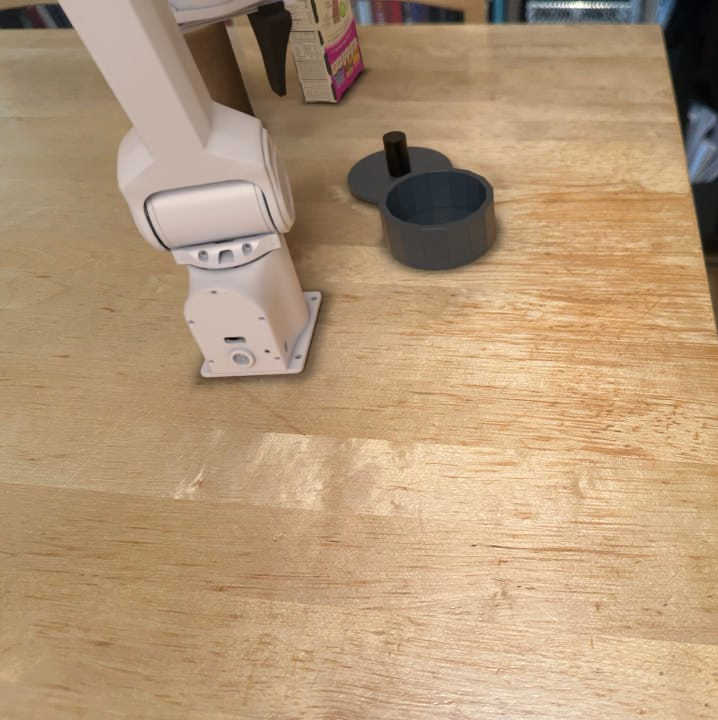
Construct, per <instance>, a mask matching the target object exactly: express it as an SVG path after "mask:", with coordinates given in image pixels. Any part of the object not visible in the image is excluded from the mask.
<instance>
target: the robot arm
mask: <svg viewBox="0 0 718 720" xmlns="http://www.w3.org/2000/svg"><path fill="white" fill-rule="evenodd" d="M56 1H57V3H58V4H59V6H60V7H61V9H62V11H63V12H64V15H65V16H66V17H67V19H68V20H69V22H70V24H71V25H72V28H73V29H74V30H75V32H76V34H77V36H78V37H79V38H80V41H81V42H82V44H83V45H84V47H85V48H86V50H87V52H88V53H89V56H90V57H91V58H92V60H93V62H94V63H95V65H96V68H97V69H98V70H99V72H100V73H101V75H102V77H103V79H104V80H105V81H106V83H107V85H108V86H109V88H110V90H111V91H112V93H113V95H114V96H115V98H116V100H117V101H118V103H119V105H120V106H121V108H122V110H123V111H124V112H125V115H126V116H127V118H128V119H129V121H130V123H131V124H132V127H131V128H130V129H129V130H128V131H127V133H126V134H125V135H124V136H123V137H122V139H121V141H120V144H119V146H118V150H117V157H116V180H117V187H118V189H119V191H120V193H121V194H122V196H123V198H124V200H125V202H126V203H127V205H128V207H129V210H130V213H131V216H132V219H133V221H134V224H135V226H136V228H137V231H138V232H139V233H140V235H141V237H142V238H143V239H144V241H145V242H146V243H148V245H151V247H153V248H154V249H155V250H156V251H158V252H159V253H170V252H171V254H172V256H173V258H174V260H175V263H176V265H177V266H178V265H179V266H180V265H185V266H186V268H187V274H188V280H189V281H188V291H187V295H186V298H185V302H184V305H183V318H184V321H185V324H186V325H187V327H188V328H189V331H190V333H191V335H192V337H193V338H194V341H195V342H196V345H197V347H198V348H199V351H200V353H201V354H202V357H203V358H204V361H203V364H202V366H201V368H200V372H199V373H200V375H201V376H202V377H203V378H223V377H224V378H225V377H243V376H245V377H247V376H267V375H287V374H299V373H301V372H302V371H303V370H304V367H305V364H306V359H307V356H308V352H309V348H310V345H311V341H312V337H313V333H314V329H315V325H316V322H317V318H318V314H319V310H320V306H321V302H322V299H323V295H322V293H321V291H318V290H317V291H315V290H314V291H303V290H302V286H301V283H300V280H299V277H298V274H297V272H296V267H295V265H294V262H293V259H292V256H291V252H290V250H289V247H288V243H287V241H286V238H285V235H284V234H286V233H289V232H290V231H291V229H292V227H293V225H294V224H295V221H296V210H295V203H294V197H293V192H292V187H291V183H290V178H289V175H288V171H287V168H286V165H285V161H284V159H283V156H282V154H281V151H280V150H279V149H278V148H277V147H276V146H275V144H274V143H273V141H272V137H271V136H270V134H269V132H268V129H266V128H265V127H264V126H263V123H262V121H261V120H260V119H258V117H257V118H256V116H255V117H252V116H250V115H247V114H245V113H242V112H240V111H237V110H234V109H232V108H229V107H226V106H224V105H221V104H219V103H217V102H215V101H213V100H212V99H211V97H210V94H209V92H208V90H207V88H206V86H205V83H204V81H203V79H202V77H201V74H200V72H199V70H198V68H197V66H196V63H195V61H194V59H193V57H192V54H191V52H190V50H189V48H188V45H187V43H186V41H185V39H184V37H183V34H182V32H183V31H186V30H190V29H194V28H197V27H201V26H205V25H209V24H212V23H216V22H220V21H223V20H224V21H227V20H230V19H235V18H239V17H241V16H246V17H247V19H248V21H249V24H250V27H251V30H252V32H253V34H254V37H255V39H256V42H257V46H258V47H259V48H258V49H259V50H260V53H261V54H260V55H261V56H262V61H263V66H264V70H265V73H266V77H267V81H268V83H269V86H270V90H271V91H272V92H273V93H274V94H276V96H278V97H280V98H282V97H285V96H287V95H288V93H287V81H286V79H287V78H286V67H287V65H286V63H287V51H288V45H289V36H290V32H291V28H292V16H291V12H290V11H288V10H286V9H285V6H289V5H293V4H296V1H295V0H56Z"/></svg>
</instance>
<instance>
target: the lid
mask: <svg viewBox="0 0 718 720" xmlns="http://www.w3.org/2000/svg"><path fill="white" fill-rule="evenodd" d="M381 139H382V143H383V149H382V150H378V151H376V152H374V153H371V154H369V155H366V156H364V157H363V158H361V159H359V161H356V163H354V164H353V166H352V167H351V168H350V170H348V174H347V178H346V181H347V185H348V188H349V191H350V192H351V193H352V194H353V195H354V196H355V197H357V198H359V199H360V200H363V201H365V202H368V203H372V204H377V205H378V204H379V199H380V194H381V193H382V192H383V191H384V189H385V188H386V187H387V186H388V185H389V184H390V183H391V182H393V181H395V180H397V179H399V178H401V177H402V176H404V175H406V174H408V173H412V172H416V171H420V170H423V169H428V168H442V167H451V168H453V164H452V161H451V160H450V159H449V157H447V156H446V155H445V154H443V153H442V152H440V151H437V150H435V149H432V148H428V147H423V146H408V141H407V140H408V139H407V134H406V133H405V132H404V131H401V130H393V131H389V132H386V133H384V134H383V135H382V138H381Z"/></svg>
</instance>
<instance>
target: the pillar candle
mask: <svg viewBox="0 0 718 720" xmlns="http://www.w3.org/2000/svg"><path fill="white" fill-rule="evenodd" d="M182 34H183V37H184V39H185V41H186V43H187V45H188V48H189V50H190V52H191V54H192V57H193V59H194V61H195V63H196V66H197V68H198V70H199V72H200V74H201V77H202V79H203V81H204V83H205V86H206V88H207V90H208V92H209V94H210V97H211V99H212V100H213V101H215V102H217V103H219V104H221V105H224V106H226V107H229V108H232V109H234V110H237V111H240V112H242V113H245V114H247V115H250V116H252V117H255V118H256V114H255V112H254V109H253V107H252V103H251V101H250V97H249V95H248V91H247V88H246V86H245V82H244V79H243V75H242V72H241V68H240V67H239V63H238V60H237V57H236V54H235V51H234V48H233V45H232V41H231V38H230V35H229V33H228V29H227V26H226V24H225V20H223V21H220V22H216V23H212V24H209V25H205V26H201V27H197V28H194V29H190V30H186V31H183V32H182Z"/></svg>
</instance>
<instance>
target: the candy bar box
mask: <svg viewBox="0 0 718 720" xmlns="http://www.w3.org/2000/svg"><path fill="white" fill-rule="evenodd" d="M295 1H296V4H293V5H289V6H285V9H286V10H288V11H290V12H291V16H292V28H291V32H290V36H289V40H288V45H289V48H290V51H291V56H292V59H293V62H294V67H295V70H296V74H297V77H298V80H299V81H298V82H299V84H300V89H301V92H302V95H303V96H302V97H303V99H304V101H305V103H310V104H312V103H313V104H317V103H319V104H337V103H339V102H340V101H341V99H343V97H344V96H345V94H346V93H347V92H348V90H349V89H350V88H351V87H352V85H353V84H354V82H355V81H356V80H357V78H358V77H359V76H360V75H361V73H362V72H363V71H364V70H365V66H364V62H363V55H362V52H361V51H362V50H361V47H360V42H359V41H360V40H359V37H358V32H357V28H356V27H357V26H356V22H355V16H354V11H353V8H352V7H353V6H352V1H351V0H295Z"/></svg>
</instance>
